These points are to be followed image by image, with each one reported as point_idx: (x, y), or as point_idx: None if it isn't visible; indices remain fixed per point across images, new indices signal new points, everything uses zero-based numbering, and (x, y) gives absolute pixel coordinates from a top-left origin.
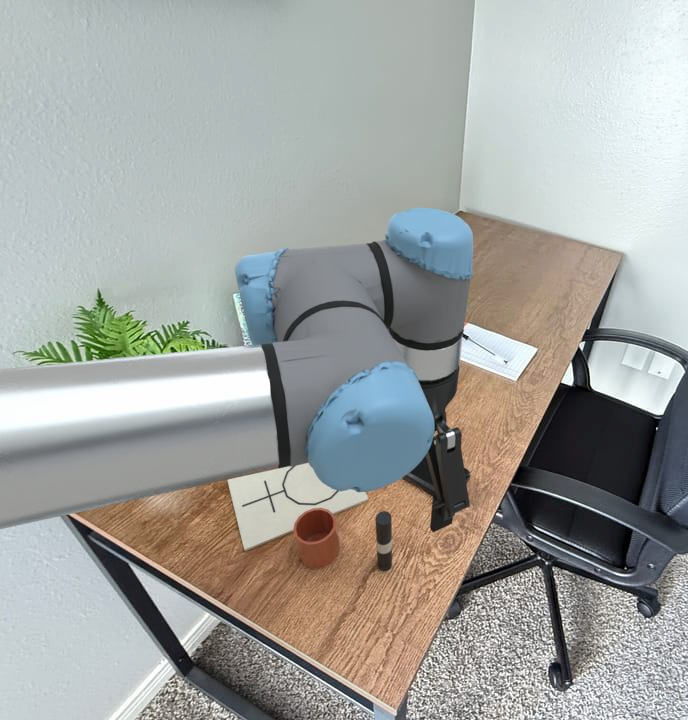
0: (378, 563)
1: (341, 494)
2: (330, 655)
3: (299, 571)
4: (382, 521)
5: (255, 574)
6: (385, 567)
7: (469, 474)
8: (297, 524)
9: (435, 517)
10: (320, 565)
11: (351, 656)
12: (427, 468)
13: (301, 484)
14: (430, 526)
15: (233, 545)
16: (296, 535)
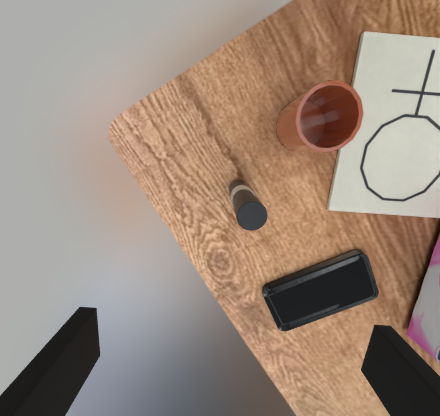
0: (237, 181)
1: (357, 182)
2: (175, 87)
3: (289, 92)
4: (245, 211)
5: (320, 37)
6: (229, 186)
7: (280, 328)
8: (349, 93)
9: (19, 380)
10: (279, 117)
11: (162, 108)
12: (320, 292)
13: (408, 141)
14: (89, 314)
15: (380, 22)
16: (331, 83)
